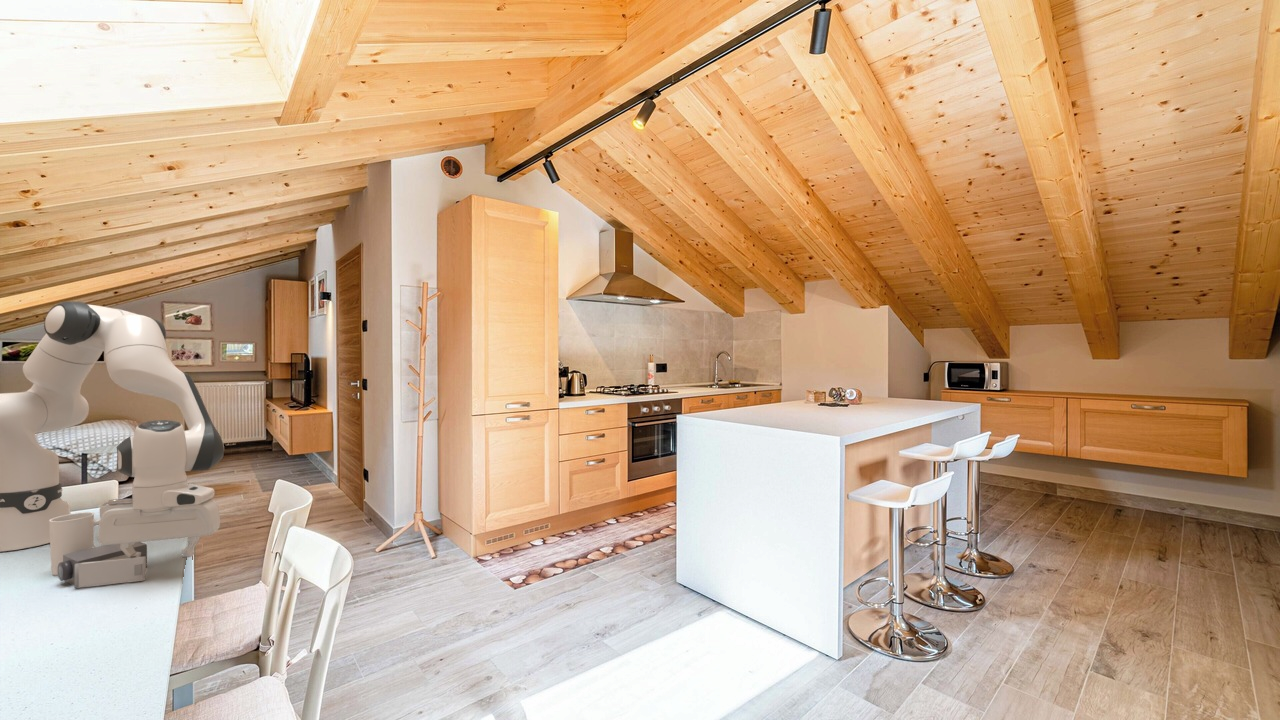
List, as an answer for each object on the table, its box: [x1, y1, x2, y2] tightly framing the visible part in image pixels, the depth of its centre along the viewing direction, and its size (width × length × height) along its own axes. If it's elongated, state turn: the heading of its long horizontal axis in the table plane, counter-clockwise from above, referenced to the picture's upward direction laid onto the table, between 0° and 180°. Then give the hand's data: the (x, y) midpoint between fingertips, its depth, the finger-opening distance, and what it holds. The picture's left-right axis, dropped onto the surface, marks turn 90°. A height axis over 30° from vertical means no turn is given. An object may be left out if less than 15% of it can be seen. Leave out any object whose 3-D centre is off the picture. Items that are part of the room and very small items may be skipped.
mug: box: [49, 511, 103, 577], centre depth 117 cm, size 10×7×12 cm, turn 130°
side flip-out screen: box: [74, 556, 147, 589], centre depth 108 cm, size 1×12×5 cm, turn 108°
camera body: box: [58, 542, 148, 587], centre depth 113 cm, size 8×12×6 cm, turn 153°
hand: (161, 559), depth 112 cm, fingers open, 8 cm apart
